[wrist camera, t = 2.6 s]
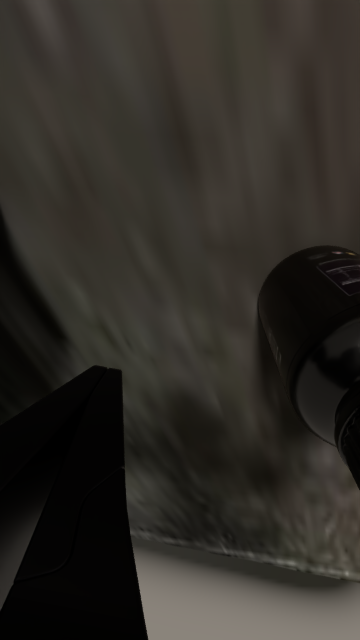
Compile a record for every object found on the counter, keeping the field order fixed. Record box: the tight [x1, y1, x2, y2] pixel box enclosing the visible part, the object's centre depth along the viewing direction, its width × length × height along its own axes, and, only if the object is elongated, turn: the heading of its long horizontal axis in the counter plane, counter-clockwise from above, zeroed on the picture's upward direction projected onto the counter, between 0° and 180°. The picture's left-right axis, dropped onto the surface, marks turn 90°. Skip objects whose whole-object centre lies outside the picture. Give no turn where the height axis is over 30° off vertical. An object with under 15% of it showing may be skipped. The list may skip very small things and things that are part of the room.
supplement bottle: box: [258, 246, 360, 490], centre depth 12 cm, size 7×7×12 cm
